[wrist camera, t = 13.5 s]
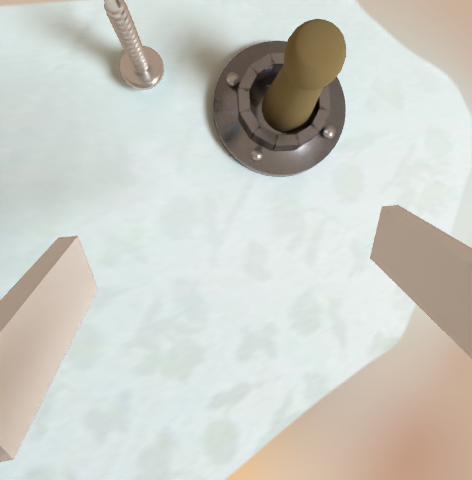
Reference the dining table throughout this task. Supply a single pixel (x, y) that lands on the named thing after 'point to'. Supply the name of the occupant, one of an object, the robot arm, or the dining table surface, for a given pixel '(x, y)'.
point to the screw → (134, 49)
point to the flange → (256, 128)
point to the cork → (304, 74)
